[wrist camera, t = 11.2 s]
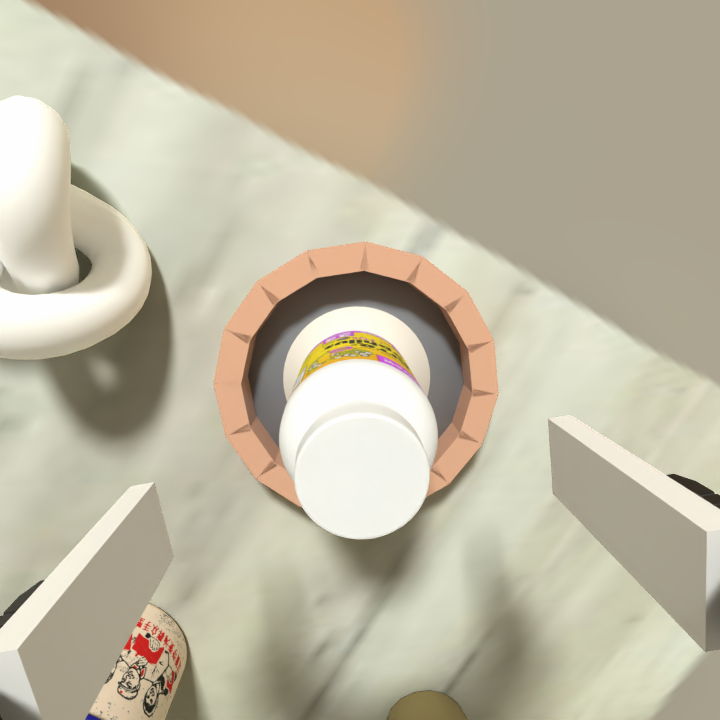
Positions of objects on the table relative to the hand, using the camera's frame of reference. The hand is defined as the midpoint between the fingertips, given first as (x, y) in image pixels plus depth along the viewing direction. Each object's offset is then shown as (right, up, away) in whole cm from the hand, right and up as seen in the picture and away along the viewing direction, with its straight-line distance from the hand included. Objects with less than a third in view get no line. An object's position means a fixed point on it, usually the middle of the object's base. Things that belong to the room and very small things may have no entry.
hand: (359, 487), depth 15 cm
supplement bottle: (0, +3, +13) cm, 13 cm away
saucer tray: (0, +3, +14) cm, 14 cm away
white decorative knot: (-17, +11, +12) cm, 23 cm away
